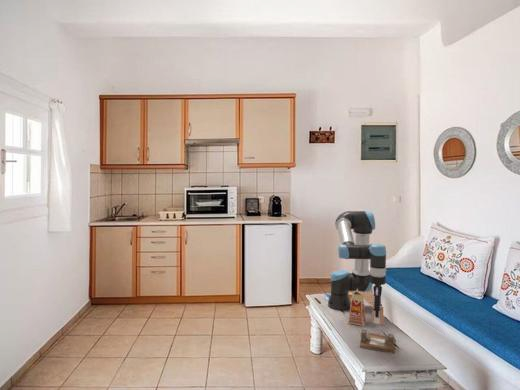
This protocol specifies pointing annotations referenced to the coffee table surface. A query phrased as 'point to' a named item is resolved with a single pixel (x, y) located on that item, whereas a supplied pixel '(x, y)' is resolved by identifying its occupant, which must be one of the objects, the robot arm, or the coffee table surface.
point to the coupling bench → (377, 341)
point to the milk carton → (357, 309)
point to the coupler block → (380, 315)
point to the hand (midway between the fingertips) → (377, 320)
